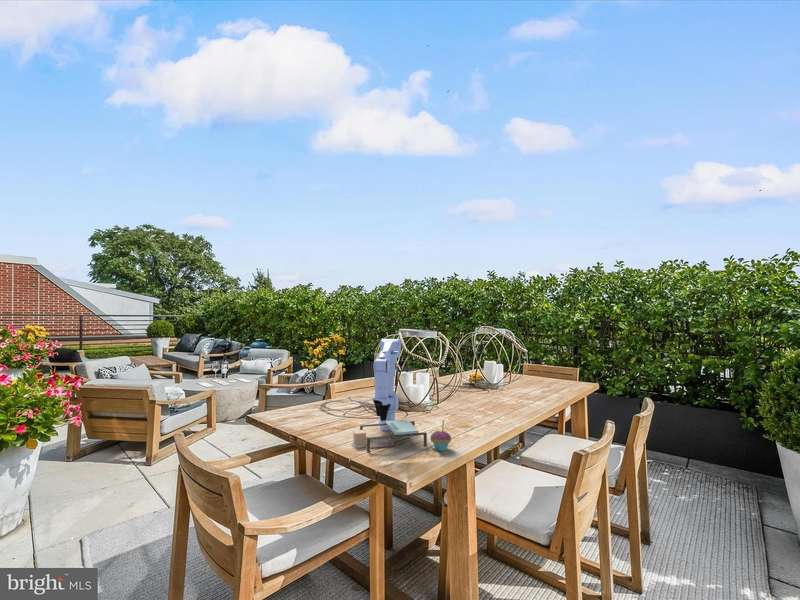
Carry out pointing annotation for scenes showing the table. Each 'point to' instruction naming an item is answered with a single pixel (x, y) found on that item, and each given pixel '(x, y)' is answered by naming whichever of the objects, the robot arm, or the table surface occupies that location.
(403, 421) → the slide cover
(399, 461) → the table surface
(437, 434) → the cupcake
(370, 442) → the puzzle board
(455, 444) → the table surface
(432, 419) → the table surface
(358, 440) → the block
